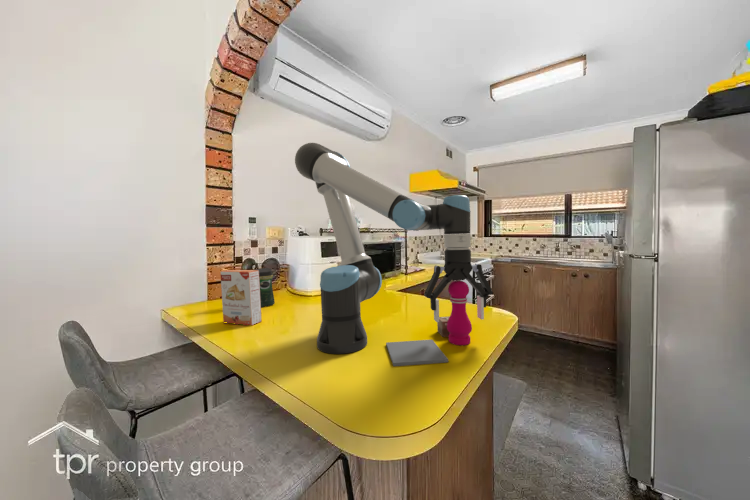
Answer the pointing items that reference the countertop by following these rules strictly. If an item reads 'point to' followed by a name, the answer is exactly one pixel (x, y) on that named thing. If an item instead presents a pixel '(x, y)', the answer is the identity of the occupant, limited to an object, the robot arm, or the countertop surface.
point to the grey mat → (415, 353)
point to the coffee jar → (266, 287)
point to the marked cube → (443, 326)
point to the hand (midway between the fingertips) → (458, 319)
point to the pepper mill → (459, 314)
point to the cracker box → (241, 296)
